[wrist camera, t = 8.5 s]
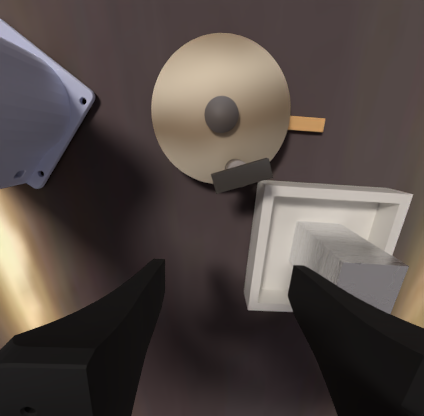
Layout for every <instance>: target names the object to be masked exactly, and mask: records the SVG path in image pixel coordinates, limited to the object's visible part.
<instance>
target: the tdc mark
mask: <svg viewBox="0 0 424 416" xmlns="http://www.w3.org/2000/svg"><path fill="white" fill-rule="evenodd" d="M324 123H325V119H324V118H311V117H297V116H290V120H289V126H288V130H297V131H310V132H323V128H324Z"/></svg>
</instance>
